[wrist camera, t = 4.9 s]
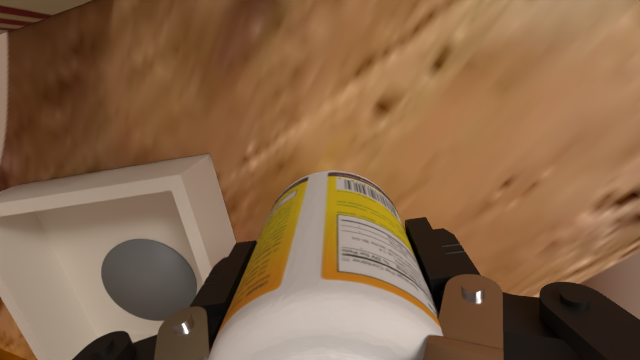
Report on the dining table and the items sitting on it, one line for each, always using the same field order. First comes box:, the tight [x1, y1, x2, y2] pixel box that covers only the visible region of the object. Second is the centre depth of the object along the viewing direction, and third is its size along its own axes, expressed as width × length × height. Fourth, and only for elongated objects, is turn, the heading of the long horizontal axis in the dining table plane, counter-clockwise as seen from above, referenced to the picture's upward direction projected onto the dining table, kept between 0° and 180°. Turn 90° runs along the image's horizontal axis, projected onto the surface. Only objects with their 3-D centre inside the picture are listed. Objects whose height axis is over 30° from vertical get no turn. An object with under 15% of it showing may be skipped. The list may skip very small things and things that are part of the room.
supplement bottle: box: [208, 171, 443, 360], centre depth 10 cm, size 6×6×10 cm
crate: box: [0, 153, 236, 360], centre depth 29 cm, size 18×18×6 cm
